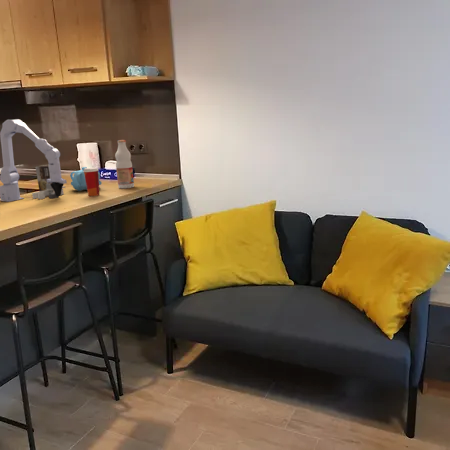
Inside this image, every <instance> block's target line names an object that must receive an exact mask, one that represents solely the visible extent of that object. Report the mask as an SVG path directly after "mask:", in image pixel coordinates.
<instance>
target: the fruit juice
mask: <svg viewBox="0 0 450 450" xmlns="http://www.w3.org/2000/svg"><path fill="white" fill-rule="evenodd" d="M126 143H127V140H125V139H119V140H117V151H116V152H115V154H114V155H115V160H116V163H115V168H116V177H117V179H116V180H117V186H118V189H131V188H134V187H135V181H134V172H133V171H134V170H133V163H132V161H131V160H132V159H131V157H132V154H131V152H130V151H129V149H128V148H127V144H126Z"/></svg>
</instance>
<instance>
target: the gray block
mask: <svg viewBox="0 0 450 450" xmlns="http://www.w3.org/2000/svg"><path fill="white" fill-rule="evenodd" d="M48 198H49V199H58V198H60V196H56V194H55V193H52V194H49V196H48Z"/></svg>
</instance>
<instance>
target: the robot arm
mask: <svg viewBox="0 0 450 450" xmlns="http://www.w3.org/2000/svg"><path fill="white" fill-rule="evenodd" d="M1 125H2V127H1V130H0V145H1V146H0V147H1V154H2V164H3V165H2V167H1V170H0V182H1V183H2V184H3V185H0V201H1V202H6V203H9V202H13V201H18V200H23V199H24V197H21V194H20V187H19V180H20V174H19V173H18V169H17V167H16V166H15V159H14V150H13V149H14V148H13V136H15V134H16V133H18V134H23V135H24V136H26V137H27V138H29V139H30V140H31V141H32V142H33V143H34V147H36V148H37V149H38V150H39V151H40V152H41V153H42V154H43V155H44V157H45V159H46V160H47V162H48V164H47V165H49V171H50V178H51V179H47V183H49V182H50V183H52V184H50V185H51V187H52V188H53V190H54V192H55V194H56V196H59V197H61V196H62V195H61V191H62V189H63V188H62V187H63V186H64V185H65V184H68V182H67V179H65V178H63V177H62V170H61V169H62V168H61V163H60V157H61V152H60V151H59V150H58V148H56V147H54V146H53V145H51V144H50V143H48V141H47V139H44V138H40V137H39V136H38V135H36V134H35V133H34V131H32V129H31V128H30V127H29V126H28V125H27V124H26V123H25V122H23V120H21V119H19V118H15V119H6V120H4V122H2V124H1Z"/></svg>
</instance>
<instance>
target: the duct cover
mask: <svg viewBox="0 0 450 450" xmlns="http://www.w3.org/2000/svg"><path fill="white" fill-rule="evenodd" d="M46 188H47V189H46V190H53V188H52V187H51V185H50V184H46ZM62 189H66V186H64V185H63V187H62Z"/></svg>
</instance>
